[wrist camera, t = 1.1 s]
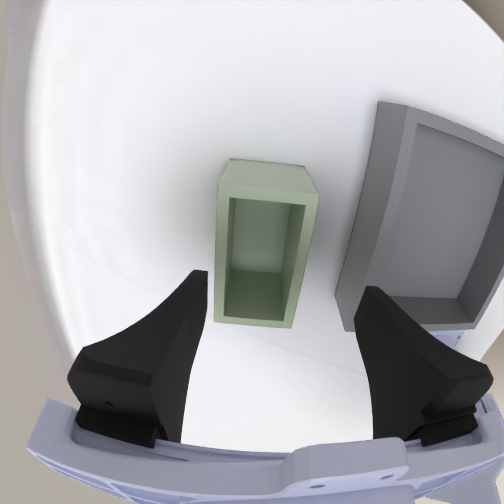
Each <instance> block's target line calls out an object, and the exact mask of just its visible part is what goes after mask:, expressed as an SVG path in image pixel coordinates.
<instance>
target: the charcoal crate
mask: <svg viewBox="0 0 504 504" xmlns="http://www.w3.org/2000/svg"><path fill="white" fill-rule="evenodd" d="M503 276H504V145H503V144H501V143H499V142H497V141H495V140H493V139H491V138H488V137H486V136H484V135H482V134H480V133H478V132H476V131H473V130H471V129H469V128H466V127H464V126H462V125H459V124H457V123H454V122H452V121H449V120H447V119H444V118H441V117H439V116H436V115H433V114H431V113H428V112H425V111H422V110H419V109H416V108H413V107H410V106H406V105H399V104H393V103H385V102H378V108H377V115H376V121H375V127H374V133H373V139H372V145H371V150H370V155H369V160H368V165H367V170H366V175H365V180H364V185H363V189H362V194H361V198H360V202H359V207H358V211H357V215H356V219H355V223H354V227H353V231H352V235H351V239H350V242H349V246H348V250H347V254H346V257H345V261H344V264H343V268H342V271H341V275H340V278H339V281H338V285H337V288H336V291H335V298H336V301H337V305H338V308H339V312H340V315H341V319H342V322H343V326H344V329H345V331H351V332H355V326H354V319H353V318H354V316H355V313H356V311H357V308H358V306H359V303H360V301H361V298H362V295H363V293H364V290H365V287H366V286H378V287H379V288H380V289H381V290H383V291H384V292H385V293H386V294H387V295H388V296H389V297H390V298H391V299H392V300H393V301H394V302H395V303H396V304H397V305H398V306H399V307H400V308H401V309H403V310H404V311H405V312H406V313H407V314H408V315H409V316H410V317H411V318H412V319H413V320H414V321H416V322H417V323H418V324H419V325H420V326H421V327H422V328H424V329H425V330H426V331H448V330H466V329H475V327H476V326H477V324H478V322H479V321H480V319H481V317H482V316H483V314H484V312H485V311H486V309H487V307H488V305H489V303H490V302H491V300H492V298H493V296H494V294H495V292H496V290H497V288H498V287H499V285H500V283H501V281H502V279H503Z"/></svg>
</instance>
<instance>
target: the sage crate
mask: <svg viewBox="0 0 504 504" xmlns="http://www.w3.org/2000/svg"><path fill="white" fill-rule="evenodd" d="M319 196H320V195H319V193H318V191H317V189H316V187H315V186H314V184H313V182H312V180H311V178H310V176H309V174H308V173H307V171H306V169H305V167H304V166H297V165H289V164H281V163H272V162H262V161H252V160H240V159H230V161H229V163H228V165H227V167H226V169H225V171H224V173H223V175H222V177H221V179H220V181H219V183H218V192H217V214H216V241H215V277H214V322H219V323H229V324H239V325H250V326H262V327H275V328H290V329H291V327H292V323H293V319H294V315H295V310H296V306H297V302H298V298H299V293H300V289H301V285H302V280H303V276H304V271H305V267H306V262H307V257H308V252H309V248H310V243H311V238H312V233H313V228H314V223H315V218H316V212H317V207H318V202H319Z"/></svg>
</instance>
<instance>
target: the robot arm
mask: <svg viewBox="0 0 504 504" xmlns="http://www.w3.org/2000/svg"><path fill="white" fill-rule="evenodd" d="M207 291H208V271H202V270H193V271H192V272H191V273H190V274H189V275H188V276H187V278H186V279H185V280H184V281H183V282H182V283H181V284H180V285H179V286H178V288H177V289H176V290H175V291H174V292H173V293H172V294H171V295H170V296H169V297H168V298H166V299H165V300H164V301H163V302H162V303H161V304H160V305H159V306H158V307H156V308H155V309H154V310H153V311H152V312H150V313H149V314H148V315H146V316H145V317H144V318H142V319H141V320H139V321H138V322H136V323H135V324H133V325H131V326H130V327H128V328H126V329H125V330H123V331H121V332H119V333H117V334H115V335H113V336H111V337H109V338H107V339H104V340H102V341H99V342H97V343H94V344H91V345H89V346H86V347H83V348H82V350H81V351H80V353H79V354H78V356H77V358H76V359H75V361H74V363H73V365H72V367H71V369H70V371H69V373H68V375H67V380H68V383H69V385H70V387H71V389H72V391H73V392H74V394H75V395H76V397H77V398H78V400H79V401H80V403H81V406H80V409H79V411H77V410H76V409H75V408H73V407H71V406H69V405H67V404H64V403H61V402H59V401H56V400H54V399H51V398H48V399H47V401H46V402H45V405H44V407H43V409H42V411H41V413H40V415H39V418H38V420H37V422H36V424H35V427H34V429H33V431H32V434H31V436H30V439H29V441H28V443H27V446H26V448H27V450H28V451H29V452H31V453H32V454H33V455H34V456H36V457H37V458H38V459H40V460H41V461H42V462H43V463H45V464H46V465H47V466H48V467H50V468H51V469H53V470H54V471H56V472H57V473H60V474H62V475H64V476H66V477H68V478H71V479H73V480H75V481H78V482H80V483H82V484H85V485H87V486H90V487H92V488H95V489H97V490H100V491H102V492H105V493H108V494H111V495H113V496H116V497H119V498H122V499H125V500H128V501H131V502H134V503H138V504H415V503H414V500H415V499H418V498H421V497H424V496H425V497H426V498H429V499H433V500H438V501H443V502H448V503H451V504H501V502H500V498H499V494H498V490H497V486H496V483H495V481H496V479H497V477H498V476H499V474H500V472H501V471H502V469H503V468H504V420H503V417H502V415H501V413H500V411H499V408H498V406H497V404H496V402H495V400H494V398H493V396H492V394H490V393H486V392H487V391H488V390H489V389H490V387H491V385H492V383H493V376H492V374H491V372H490V370H489V368H488V367H487V365H486V364H483V363H481V362H478V361H476V360H474V359H471V358H469V357H467V356H465V355H463V354H461V353H459V352H458V351H457V349H456V347H455V346H456V344H457V343H458V341H459V340H460V338H461V337H462V335H463V333H464V331H463V330H448V331H426V330H425V329H424V328H422V327H421V326H420V325H419V324H418V323H417V322H416V321H414V320H413V319H412V318H411V317H410V316H409V315H408V314H407V313H406V312H405V311H404V310H403V309H401V308H400V307H399V306H398V305H397V304H396V303H395V302H394V301H393V300H392V299H391V298H390V297H389V296H388V295H387V294H386V293H385V292H384V291H383V290H381V289H380V288H379V287H378V286H366V287H365V290H364V293H363V295H362V298H361V301H360V303H359V306H358V308H357V311H356V313H355V316H354V318H353V319H354V326H355V332H356V338H357V341H358V345H359V348H360V352H361V355H362V359H363V362H364V366H365V369H366V373H367V377H368V381H369V387H370V395H371V404H372V415H373V440H365V441H356V442H345V443H330V444H319V445H311V446H307V447H303V448H300V449H296V450H295V451H293V452H292V453H272V452H249V451H236V450H225V449H215V448H207V447H200V446H193V445H187V444H181V443H180V442H181V433H182V425H183V417H184V410H185V403H186V396H187V390H188V384H189V378H190V373H191V369H192V365H193V361H194V358H195V355H196V351H197V348H198V345H199V341H200V338H201V335H202V331H203V328H204V324H205V318H206V312H207Z"/></svg>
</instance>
